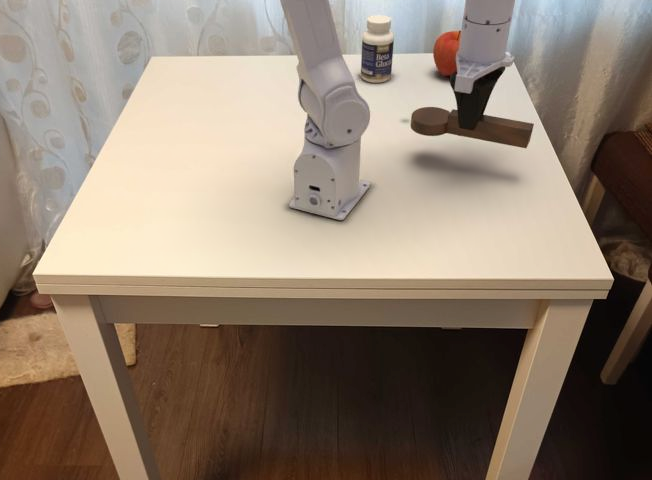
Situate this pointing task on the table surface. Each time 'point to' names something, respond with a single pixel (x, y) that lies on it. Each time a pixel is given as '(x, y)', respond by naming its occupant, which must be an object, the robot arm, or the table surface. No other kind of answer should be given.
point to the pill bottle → (377, 49)
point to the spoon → (487, 129)
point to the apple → (446, 52)
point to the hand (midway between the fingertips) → (469, 124)
